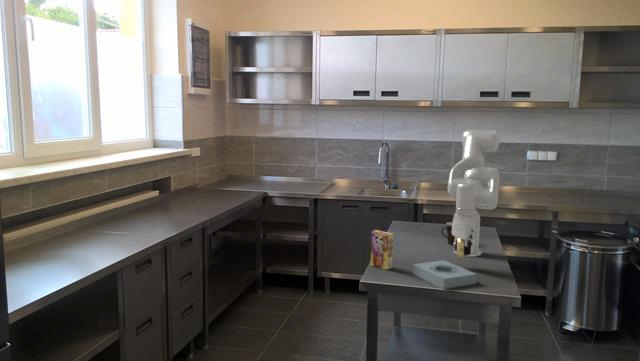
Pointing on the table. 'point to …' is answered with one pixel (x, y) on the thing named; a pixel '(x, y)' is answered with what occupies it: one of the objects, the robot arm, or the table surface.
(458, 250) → the bushing
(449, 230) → the coffee mug
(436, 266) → the plate
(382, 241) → the candy box
